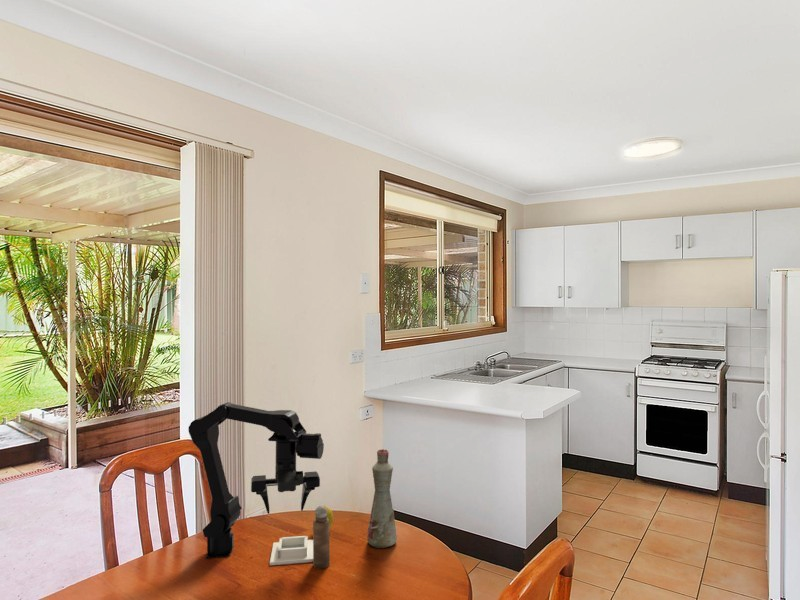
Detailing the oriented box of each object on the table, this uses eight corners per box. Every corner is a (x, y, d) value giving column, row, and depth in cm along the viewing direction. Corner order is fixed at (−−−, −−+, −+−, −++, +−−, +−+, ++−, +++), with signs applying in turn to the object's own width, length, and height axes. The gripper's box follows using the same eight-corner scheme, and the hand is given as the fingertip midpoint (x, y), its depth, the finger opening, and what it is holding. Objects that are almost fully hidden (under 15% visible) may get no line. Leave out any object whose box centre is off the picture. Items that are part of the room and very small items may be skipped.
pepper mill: (313, 569, 140) (312, 509, 140) (313, 561, 144) (313, 503, 145) (329, 568, 141) (329, 508, 141) (329, 560, 145) (329, 502, 145)
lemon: (331, 535, 161) (331, 509, 161) (313, 535, 161) (313, 509, 161) (334, 527, 166) (334, 502, 166) (317, 527, 166) (316, 502, 166)
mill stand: (269, 565, 142) (269, 554, 142) (273, 545, 154) (273, 535, 154) (314, 561, 144) (314, 550, 144) (314, 542, 156) (314, 532, 156)
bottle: (387, 552, 149) (386, 454, 149) (361, 545, 154) (360, 450, 154) (402, 540, 157) (402, 447, 157) (377, 534, 161) (377, 443, 162)
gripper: (251, 467, 137) (250, 527, 137) (322, 462, 142) (321, 520, 142) (251, 455, 148) (251, 510, 148) (317, 451, 153) (317, 504, 153)
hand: (285, 511), depth 147 cm, fingers open, 9 cm apart
